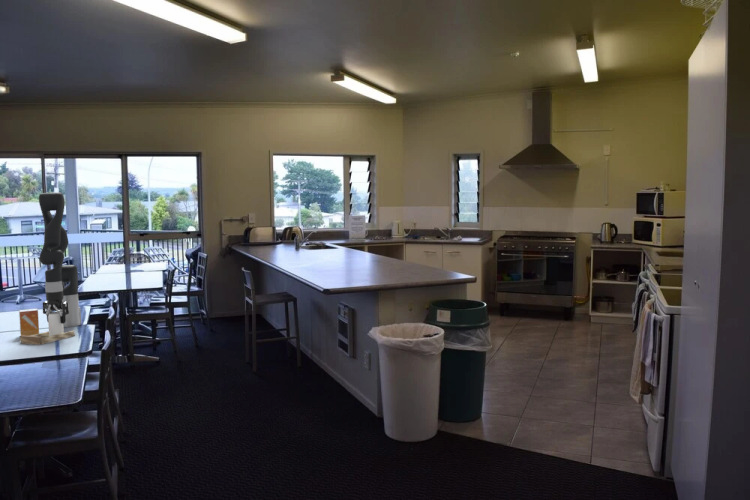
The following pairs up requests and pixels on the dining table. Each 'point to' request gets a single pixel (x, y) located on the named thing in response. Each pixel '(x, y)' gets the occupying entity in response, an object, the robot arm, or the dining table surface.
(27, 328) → the small box
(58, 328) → the white carton
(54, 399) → the dining table surface
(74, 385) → the dining table surface
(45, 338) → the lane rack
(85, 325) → the dining table surface
